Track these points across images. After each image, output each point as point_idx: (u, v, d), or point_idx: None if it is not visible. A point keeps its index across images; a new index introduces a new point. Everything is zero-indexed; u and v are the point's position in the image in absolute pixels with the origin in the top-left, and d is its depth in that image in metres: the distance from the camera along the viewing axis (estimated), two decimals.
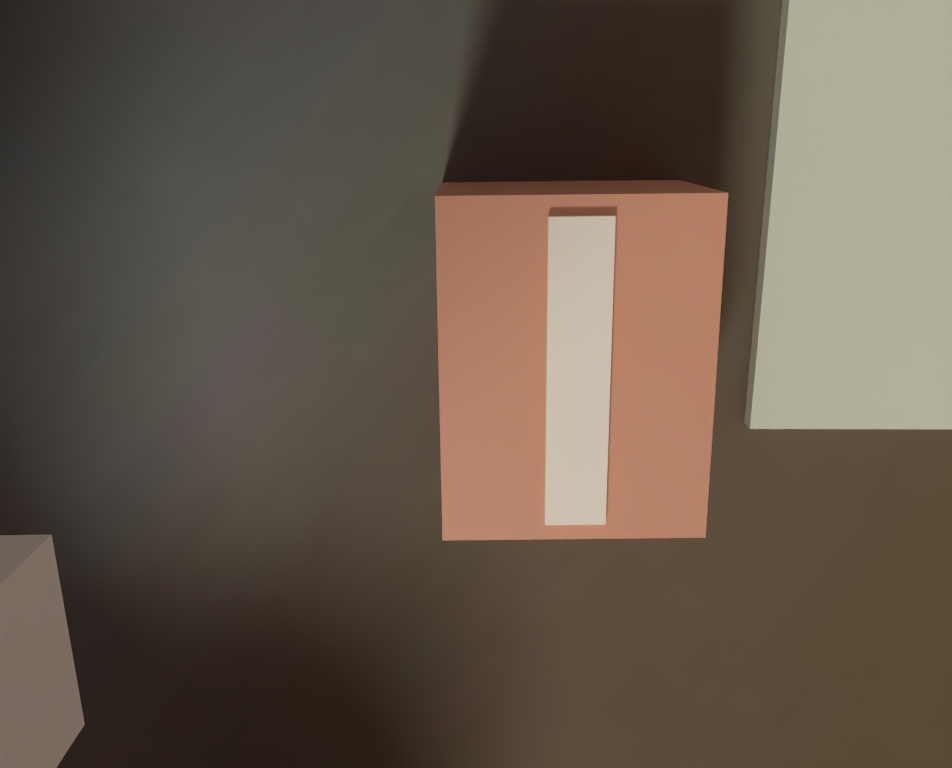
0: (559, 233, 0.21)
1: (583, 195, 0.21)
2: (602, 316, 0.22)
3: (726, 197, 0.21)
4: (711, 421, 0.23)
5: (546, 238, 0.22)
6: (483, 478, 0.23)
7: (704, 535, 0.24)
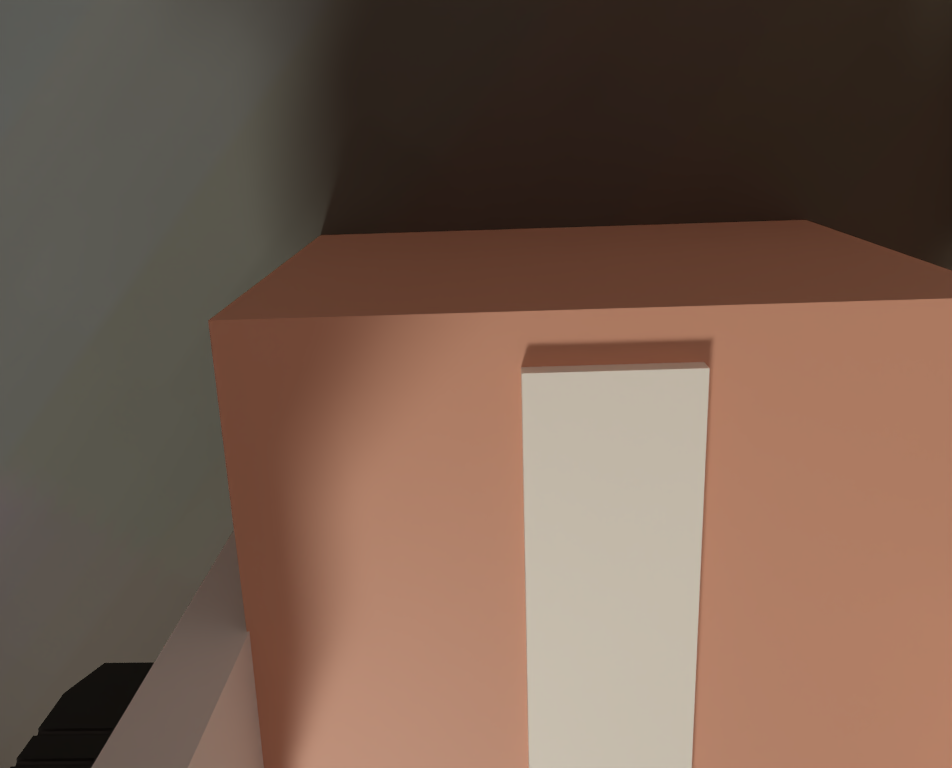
0: (553, 415, 0.08)
1: (618, 311, 0.08)
2: (671, 617, 0.08)
3: None
4: None
5: (519, 424, 0.08)
6: None
7: None
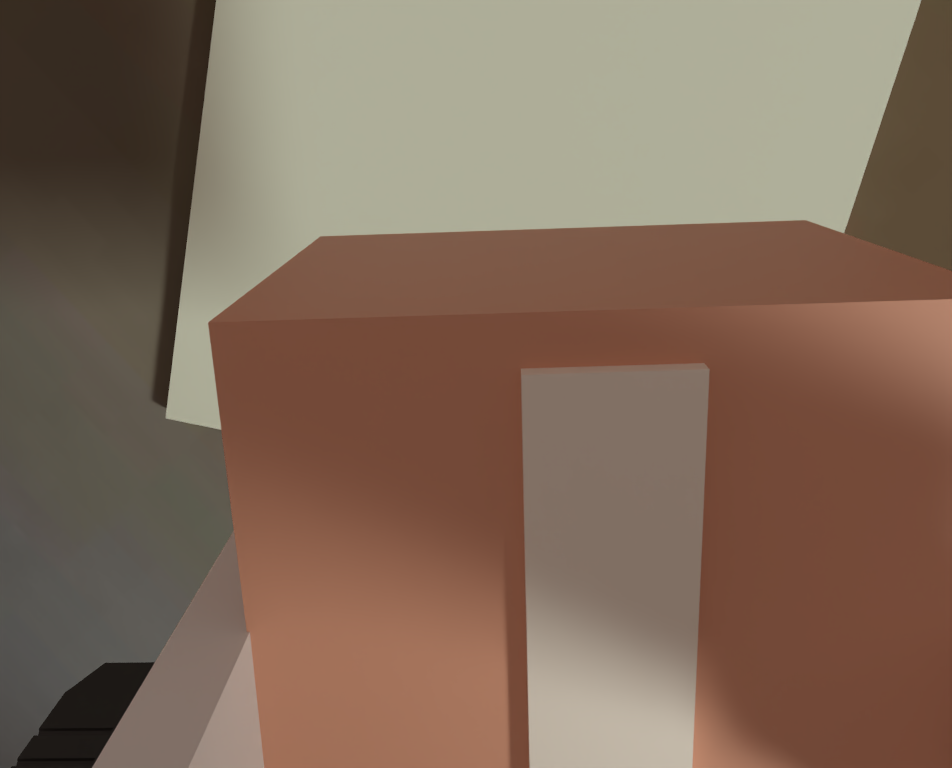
0: (553, 417, 0.08)
1: (618, 312, 0.08)
2: (672, 618, 0.08)
3: None
4: None
5: (519, 425, 0.08)
6: None
7: None
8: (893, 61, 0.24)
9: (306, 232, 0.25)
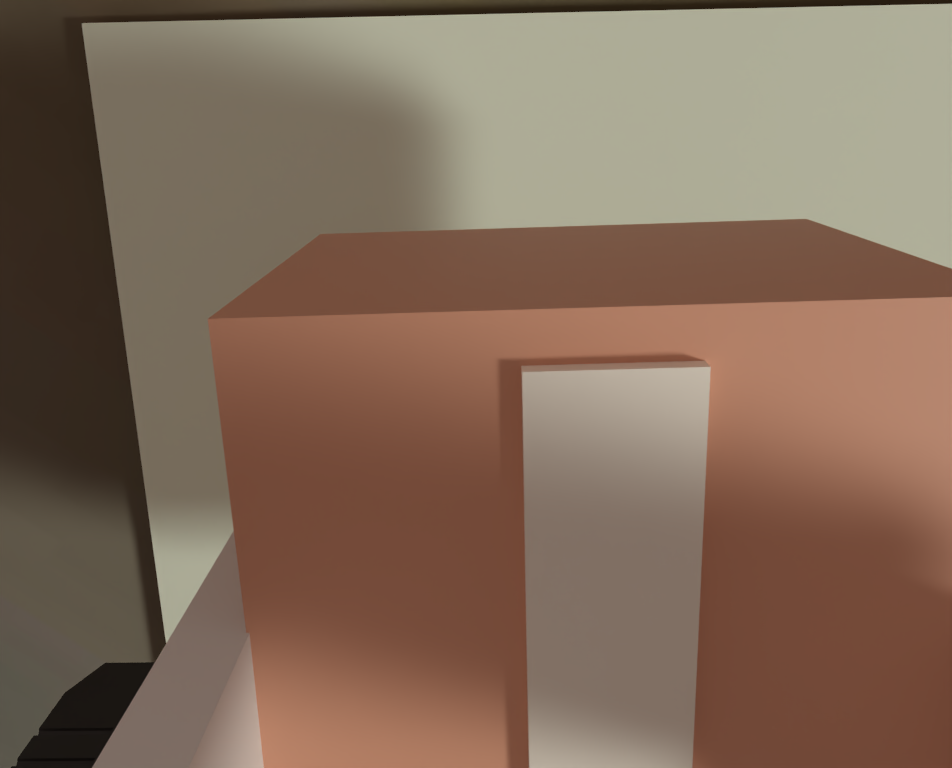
0: (554, 414, 0.08)
1: (619, 309, 0.08)
2: (672, 616, 0.08)
3: None
4: None
5: (519, 423, 0.08)
6: None
7: None
8: None
9: None
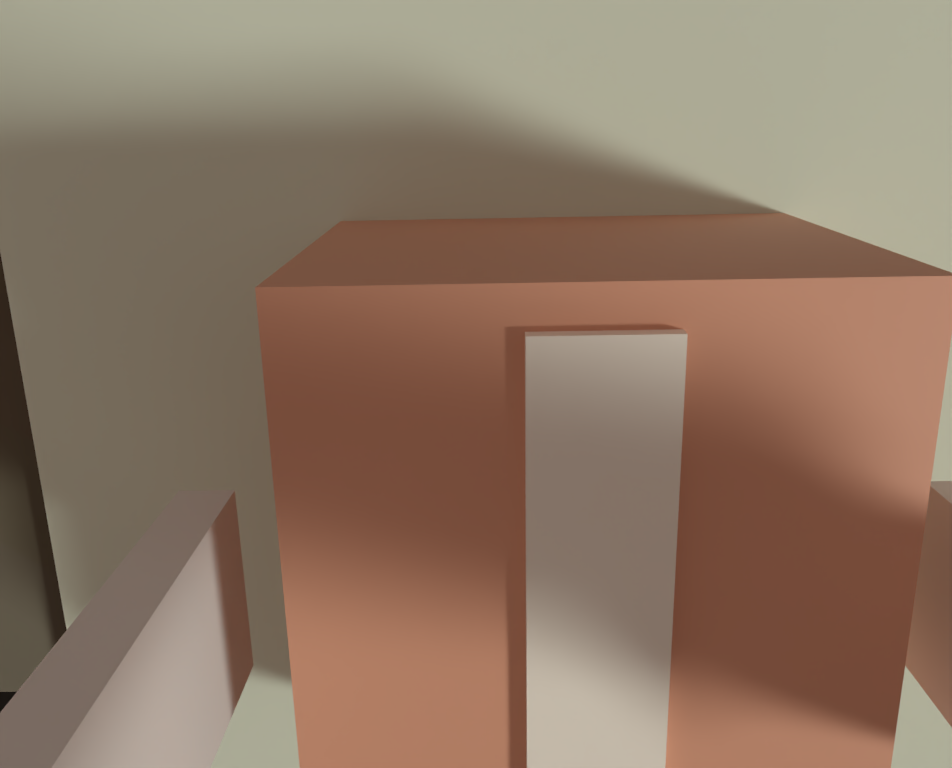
0: (552, 374, 0.09)
1: (609, 284, 0.09)
2: (653, 553, 0.10)
3: None
4: (887, 758, 0.11)
5: (523, 382, 0.09)
6: None
7: None
8: None
9: None
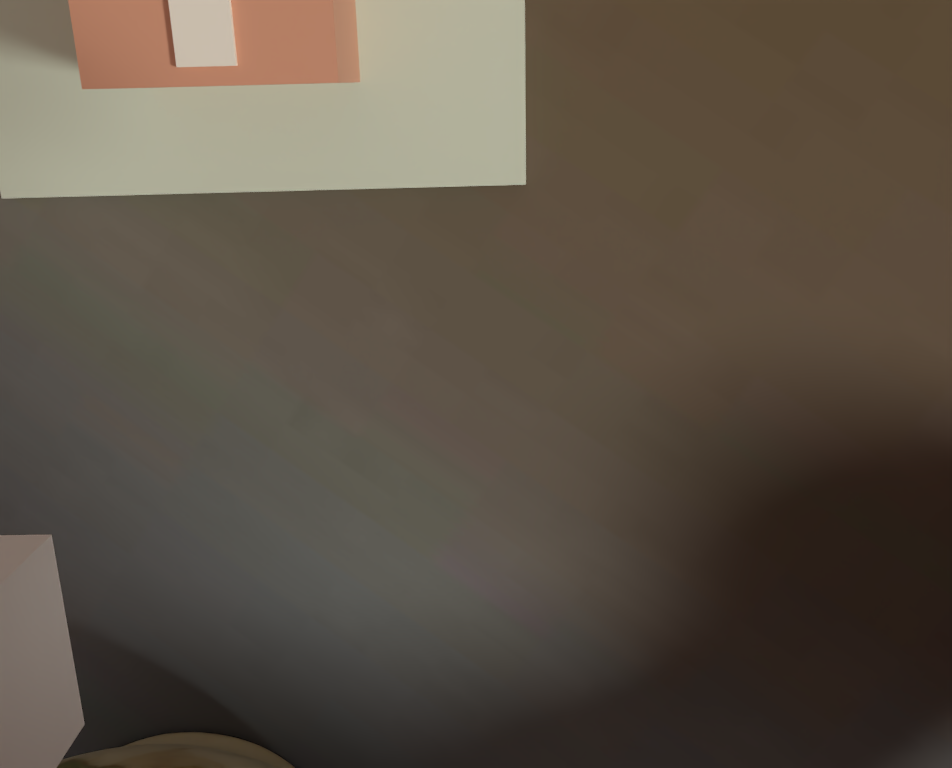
0: None
1: None
2: None
3: None
4: None
5: None
6: (112, 19, 0.24)
7: (337, 80, 0.25)
8: None
9: None
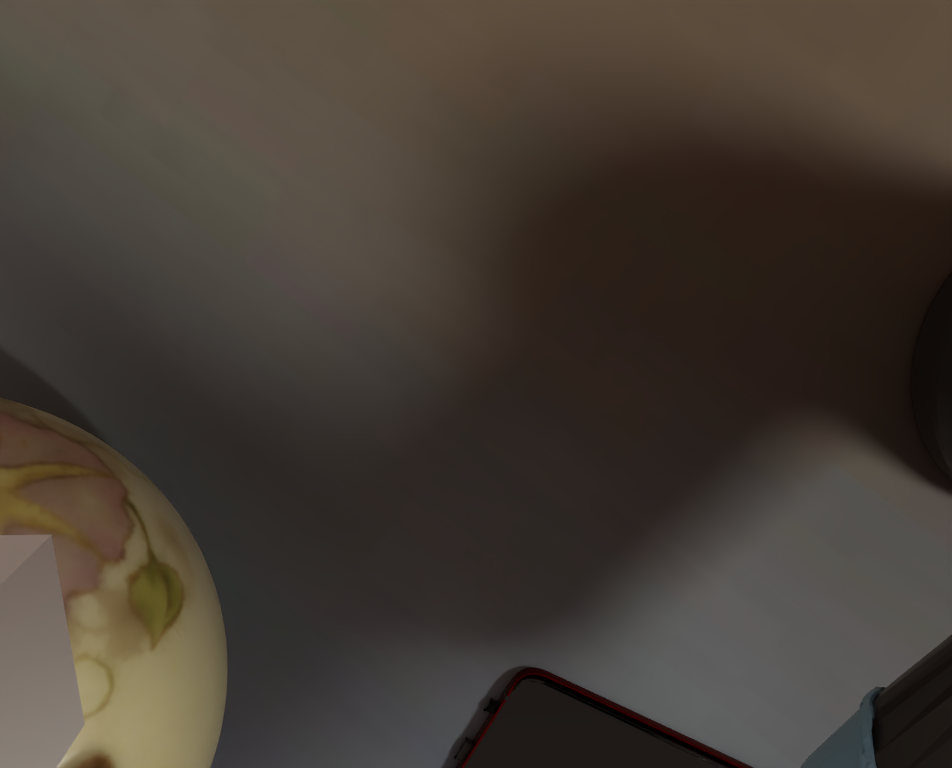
0: None
1: None
2: None
3: None
4: None
5: None
6: None
7: None
8: None
9: None
